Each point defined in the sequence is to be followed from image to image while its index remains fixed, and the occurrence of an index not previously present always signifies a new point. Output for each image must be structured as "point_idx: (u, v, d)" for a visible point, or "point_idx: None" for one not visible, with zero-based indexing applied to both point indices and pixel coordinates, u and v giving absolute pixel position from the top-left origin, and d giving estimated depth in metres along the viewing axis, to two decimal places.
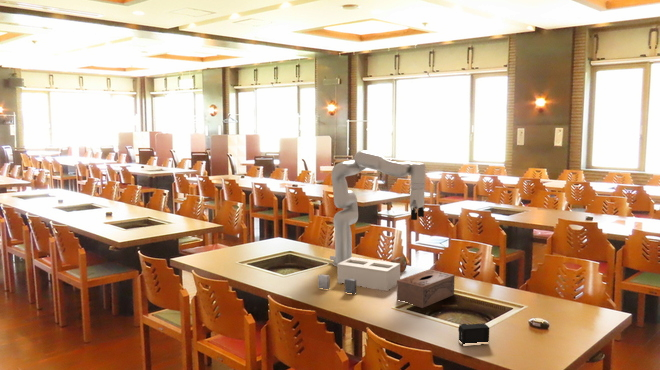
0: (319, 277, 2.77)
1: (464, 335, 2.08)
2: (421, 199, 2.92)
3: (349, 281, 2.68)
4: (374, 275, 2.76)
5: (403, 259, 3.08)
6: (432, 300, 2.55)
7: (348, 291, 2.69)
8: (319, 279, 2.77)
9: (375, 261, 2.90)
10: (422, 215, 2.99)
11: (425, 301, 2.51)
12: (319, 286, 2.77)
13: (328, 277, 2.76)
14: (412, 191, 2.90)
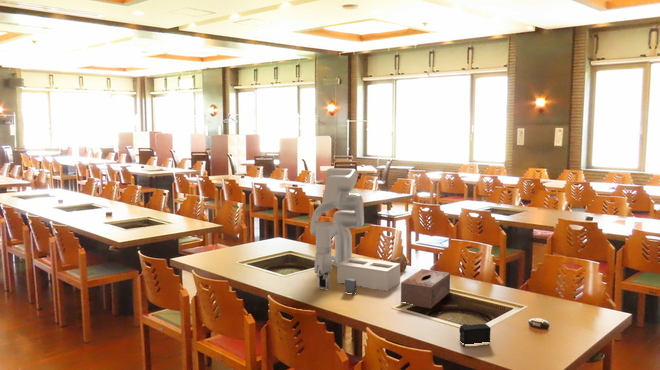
0: None
1: (466, 336, 2.07)
2: (327, 264, 2.74)
3: (349, 281, 2.68)
4: (374, 275, 2.76)
5: (403, 259, 3.08)
6: (436, 299, 2.56)
7: (348, 291, 2.69)
8: None
9: (375, 261, 2.90)
10: None
11: (432, 301, 2.51)
12: (319, 286, 2.78)
13: (328, 277, 2.76)
14: (316, 256, 2.72)
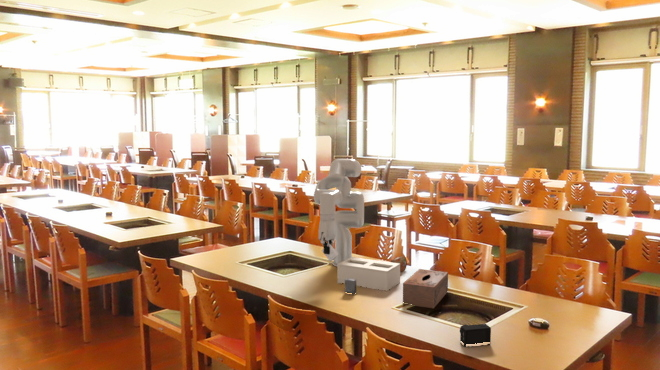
0: (323, 251, 2.77)
1: (466, 336, 2.07)
2: (331, 231, 2.74)
3: (349, 281, 2.68)
4: (374, 275, 2.76)
5: (403, 259, 3.08)
6: (438, 299, 2.56)
7: (348, 291, 2.69)
8: None
9: (375, 261, 2.90)
10: None
11: (434, 301, 2.51)
12: (329, 258, 2.76)
13: (330, 245, 2.76)
14: (321, 222, 2.72)
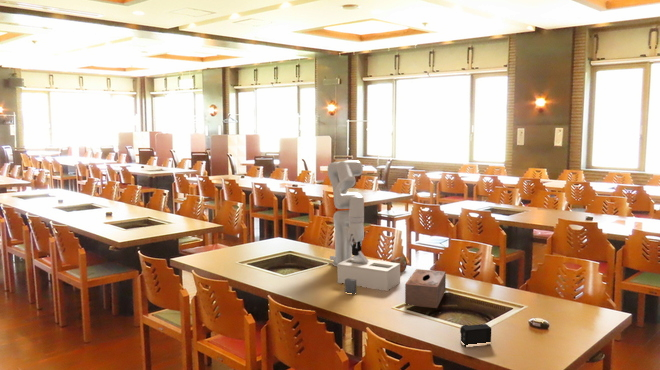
0: (354, 258, 2.89)
1: (467, 336, 2.07)
2: (360, 233, 2.86)
3: (349, 281, 2.68)
4: (374, 275, 2.76)
5: (403, 259, 3.08)
6: (439, 299, 2.56)
7: (348, 291, 2.69)
8: (355, 259, 2.89)
9: (375, 261, 2.90)
10: None
11: (437, 301, 2.51)
12: None
13: (360, 252, 2.88)
14: (350, 225, 2.84)
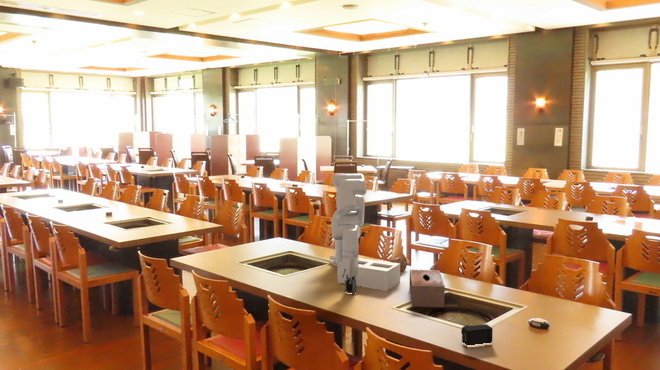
0: None
1: (468, 337, 2.06)
2: (354, 268, 2.67)
3: None
4: (374, 275, 2.76)
5: (403, 259, 3.08)
6: None
7: (348, 291, 2.69)
8: None
9: (375, 261, 2.90)
10: None
11: None
12: None
13: None
14: (343, 259, 2.65)
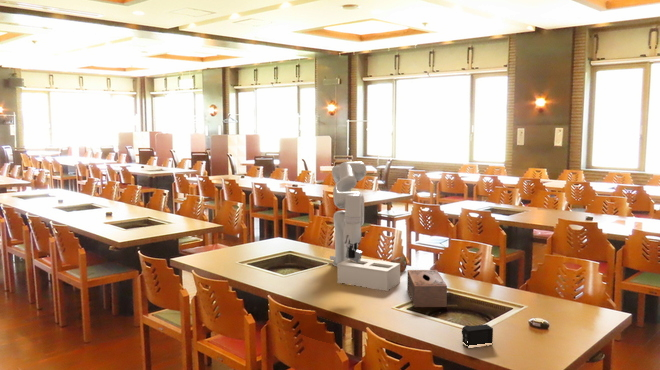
0: None
1: (469, 337, 2.06)
2: (356, 234, 2.66)
3: (347, 252, 2.69)
4: (374, 275, 2.76)
5: (403, 259, 3.07)
6: None
7: (356, 257, 2.67)
8: None
9: (375, 261, 2.90)
10: None
11: None
12: None
13: None
14: (346, 225, 2.64)
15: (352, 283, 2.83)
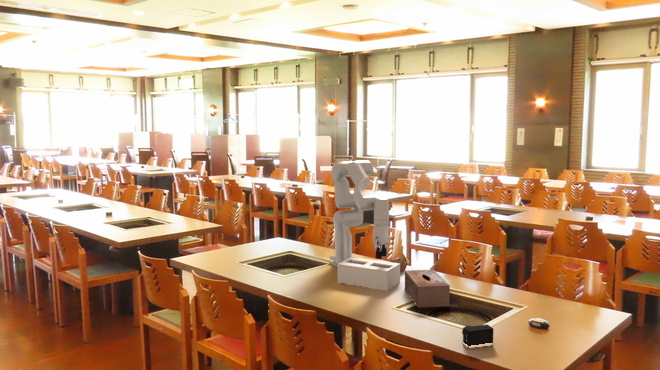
0: None
1: (469, 337, 2.06)
2: (385, 236, 2.79)
3: None
4: (374, 275, 2.76)
5: (403, 259, 3.08)
6: None
7: None
8: None
9: (375, 261, 2.90)
10: (385, 254, 2.84)
11: None
12: None
13: None
14: (375, 227, 2.77)
15: (352, 283, 2.83)
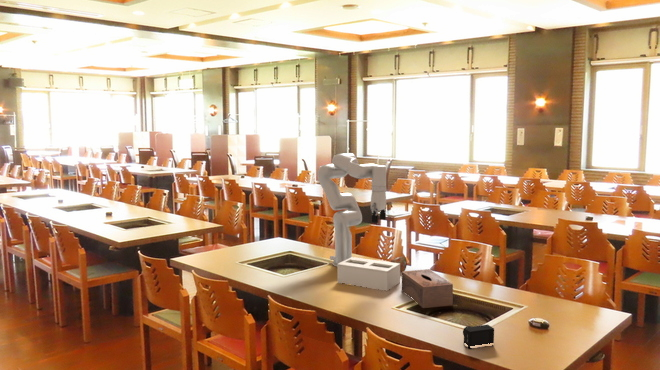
0: None
1: (470, 338, 2.05)
2: (382, 202, 2.91)
3: None
4: (374, 275, 2.76)
5: (403, 259, 3.08)
6: None
7: None
8: None
9: (375, 261, 2.90)
10: (384, 218, 2.97)
11: None
12: None
13: None
14: (373, 194, 2.89)
15: (352, 283, 2.83)
